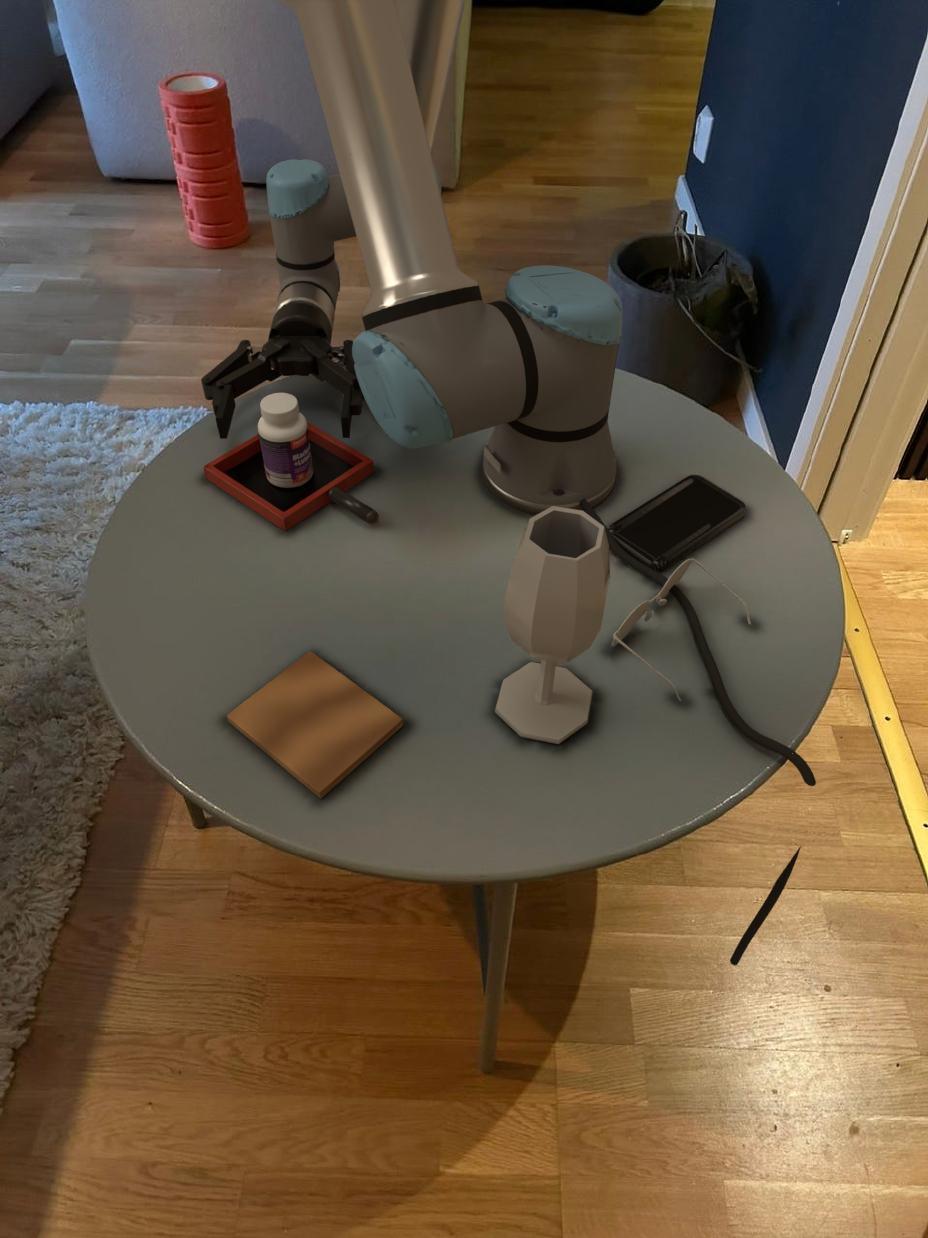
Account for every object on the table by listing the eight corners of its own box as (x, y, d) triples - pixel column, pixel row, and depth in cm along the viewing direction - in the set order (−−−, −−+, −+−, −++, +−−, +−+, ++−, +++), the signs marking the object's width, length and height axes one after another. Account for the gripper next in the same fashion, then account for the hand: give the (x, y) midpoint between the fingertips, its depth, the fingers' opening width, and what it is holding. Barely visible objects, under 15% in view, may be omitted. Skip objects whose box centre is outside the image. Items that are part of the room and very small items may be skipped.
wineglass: (563, 761, 78) (591, 590, 63) (477, 717, 81) (483, 544, 66) (608, 693, 83) (643, 520, 68) (525, 654, 86) (541, 480, 71)
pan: (420, 499, 101) (419, 483, 100) (331, 562, 94) (329, 546, 93) (295, 426, 111) (292, 410, 109) (205, 478, 104) (201, 463, 102)
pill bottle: (305, 492, 102) (294, 420, 95) (259, 486, 103) (245, 413, 95) (320, 463, 105) (310, 391, 98) (276, 457, 106) (263, 385, 99)
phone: (604, 528, 97) (694, 471, 103) (602, 536, 97) (692, 479, 104) (660, 568, 93) (751, 506, 99) (658, 575, 93) (748, 514, 100)
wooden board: (403, 725, 80) (403, 718, 80) (320, 799, 75) (319, 793, 75) (311, 657, 86) (310, 650, 85) (228, 721, 81) (226, 715, 80)
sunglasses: (680, 580, 93) (696, 549, 89) (748, 629, 90) (768, 599, 86) (601, 657, 86) (615, 627, 82) (672, 713, 83) (690, 684, 79)
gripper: (402, 354, 117) (398, 455, 103) (208, 354, 117) (177, 456, 102) (400, 300, 112) (395, 398, 97) (196, 300, 111) (161, 399, 97)
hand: (283, 428), depth 100 cm, fingers open, 13 cm apart
